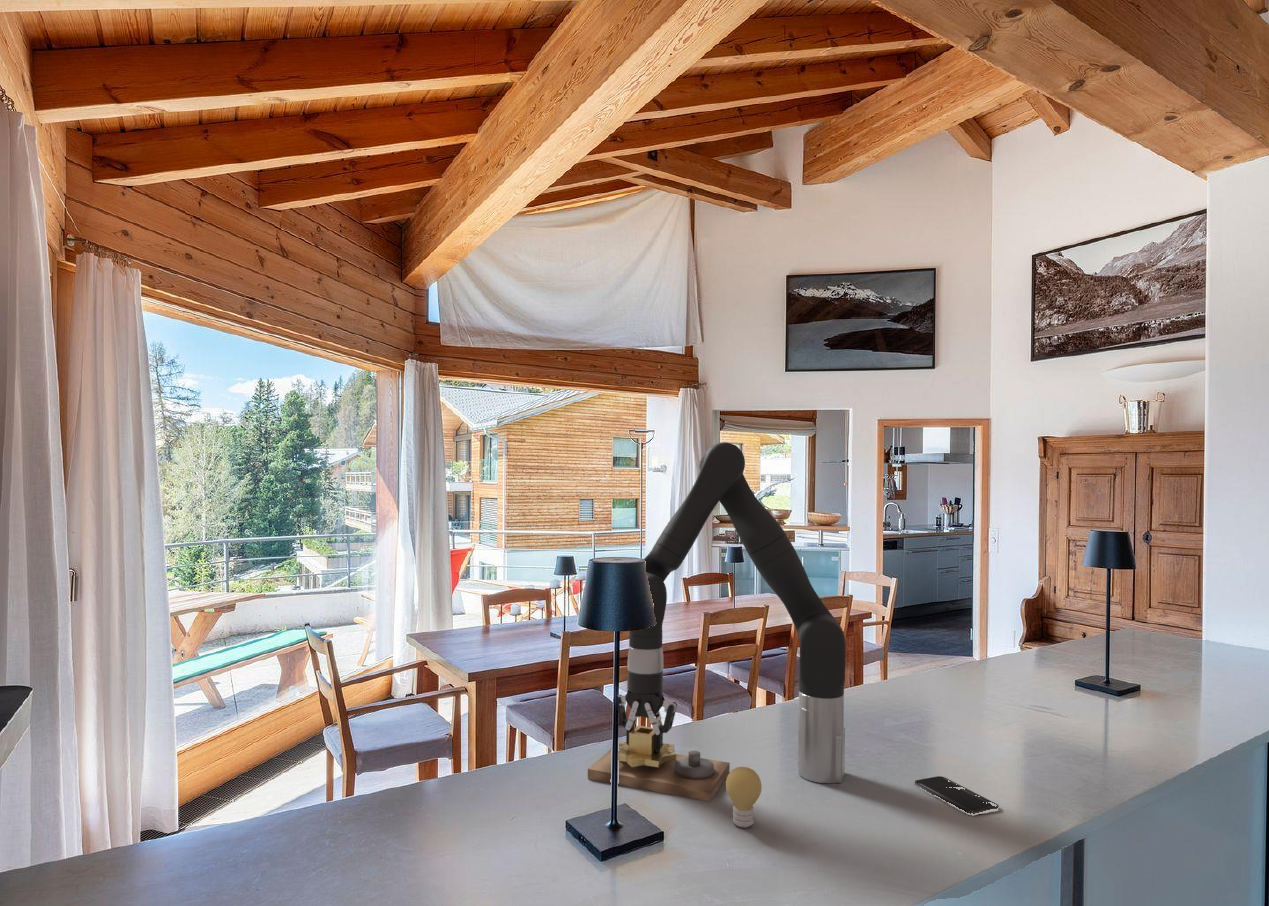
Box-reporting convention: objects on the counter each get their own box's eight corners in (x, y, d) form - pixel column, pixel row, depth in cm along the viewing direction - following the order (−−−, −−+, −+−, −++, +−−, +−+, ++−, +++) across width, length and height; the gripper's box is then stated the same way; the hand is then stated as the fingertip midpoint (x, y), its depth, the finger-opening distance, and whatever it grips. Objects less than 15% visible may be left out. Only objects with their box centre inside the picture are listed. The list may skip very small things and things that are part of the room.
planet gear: (686, 748, 157) (686, 725, 157) (664, 773, 144) (665, 747, 144) (626, 738, 162) (626, 716, 163) (599, 761, 149) (600, 736, 149)
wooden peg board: (729, 772, 154) (729, 738, 154) (710, 801, 140) (710, 764, 140) (616, 753, 164) (616, 721, 164) (587, 778, 150) (588, 744, 150)
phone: (970, 813, 135) (912, 780, 149) (970, 819, 135) (912, 786, 149) (1002, 806, 138) (942, 775, 152) (1002, 812, 138) (942, 780, 152)
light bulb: (760, 835, 127) (761, 777, 127) (724, 831, 128) (724, 773, 129) (761, 818, 133) (762, 763, 134) (726, 814, 135) (727, 759, 135)
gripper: (683, 667, 155) (682, 748, 154) (621, 659, 160) (619, 738, 159) (671, 676, 148) (670, 761, 147) (607, 668, 153) (605, 749, 152)
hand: (644, 748), depth 153 cm, fingers closed on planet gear, 5 cm apart
